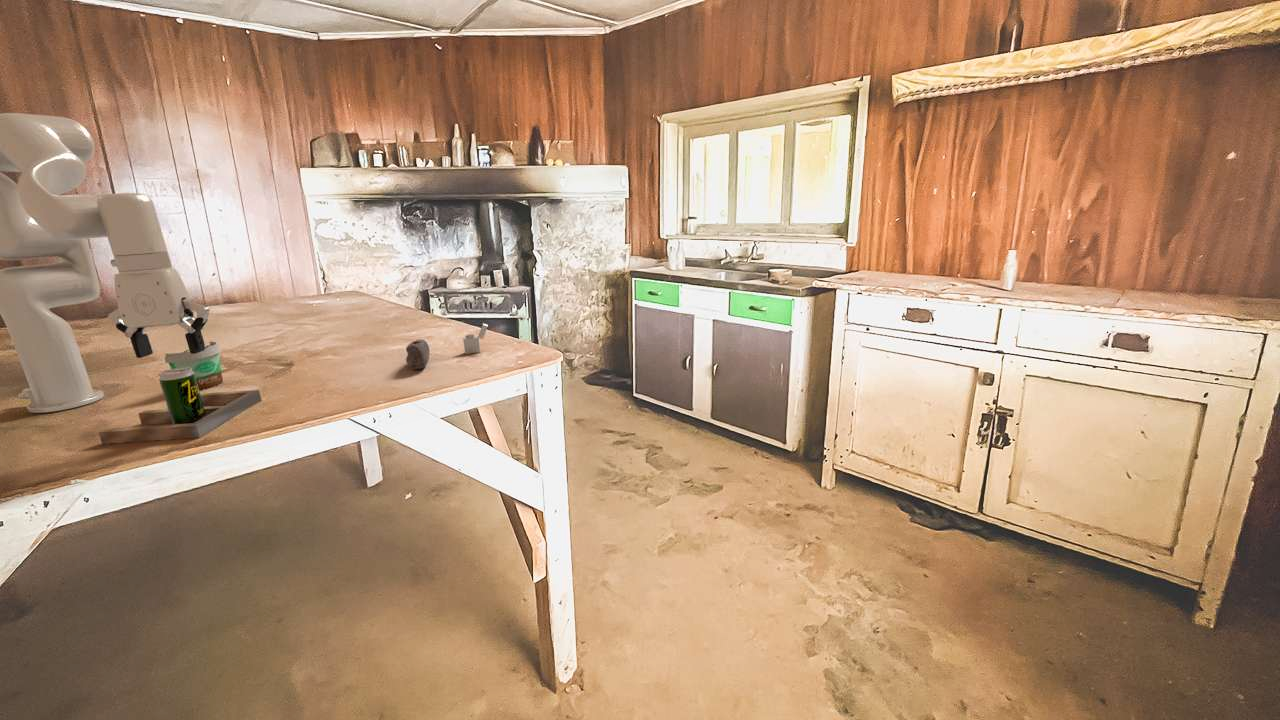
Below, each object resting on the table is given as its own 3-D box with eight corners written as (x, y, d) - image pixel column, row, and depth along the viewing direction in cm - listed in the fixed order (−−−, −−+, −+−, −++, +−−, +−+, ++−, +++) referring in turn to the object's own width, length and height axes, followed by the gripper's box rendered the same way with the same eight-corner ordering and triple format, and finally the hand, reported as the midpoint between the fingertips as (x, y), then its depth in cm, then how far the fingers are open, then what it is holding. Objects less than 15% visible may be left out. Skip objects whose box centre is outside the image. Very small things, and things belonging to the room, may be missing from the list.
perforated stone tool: (416, 358, 154) (412, 334, 152) (435, 356, 155) (432, 332, 153) (405, 374, 140) (400, 347, 138) (426, 372, 141) (422, 345, 139)
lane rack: (102, 444, 104) (98, 432, 103) (180, 405, 124) (177, 395, 123) (199, 437, 105) (196, 425, 105) (261, 400, 125) (258, 389, 124)
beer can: (169, 435, 107) (151, 376, 104) (184, 424, 112) (167, 368, 109) (200, 431, 108) (183, 373, 105) (214, 421, 113) (198, 365, 110)
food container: (195, 395, 130) (184, 354, 127) (174, 394, 132) (162, 354, 129) (241, 378, 142) (231, 341, 139) (221, 378, 143) (211, 340, 140)
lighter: (465, 353, 156) (461, 326, 154) (465, 352, 158) (461, 325, 156) (490, 351, 158) (487, 323, 156) (490, 349, 160) (487, 322, 157)
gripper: (75, 269, 97) (107, 363, 102) (179, 262, 98) (205, 355, 103) (111, 265, 104) (139, 352, 109) (207, 258, 105) (231, 345, 110)
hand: (171, 354), depth 106 cm, fingers open, 9 cm apart
